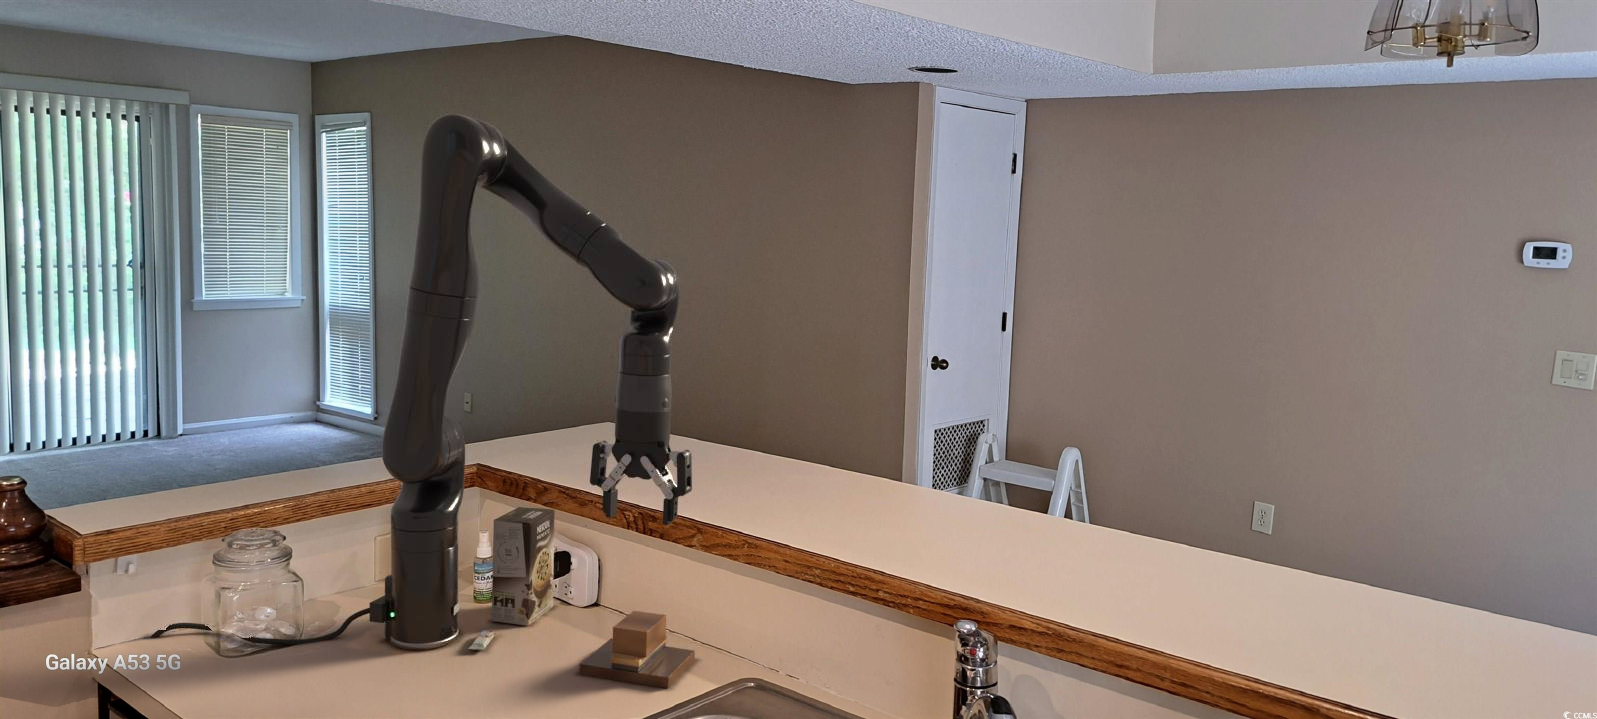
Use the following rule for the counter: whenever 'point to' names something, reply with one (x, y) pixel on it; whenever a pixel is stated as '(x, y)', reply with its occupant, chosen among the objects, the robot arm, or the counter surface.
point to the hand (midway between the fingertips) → (639, 520)
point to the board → (654, 673)
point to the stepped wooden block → (638, 640)
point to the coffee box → (523, 565)
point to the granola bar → (482, 640)
